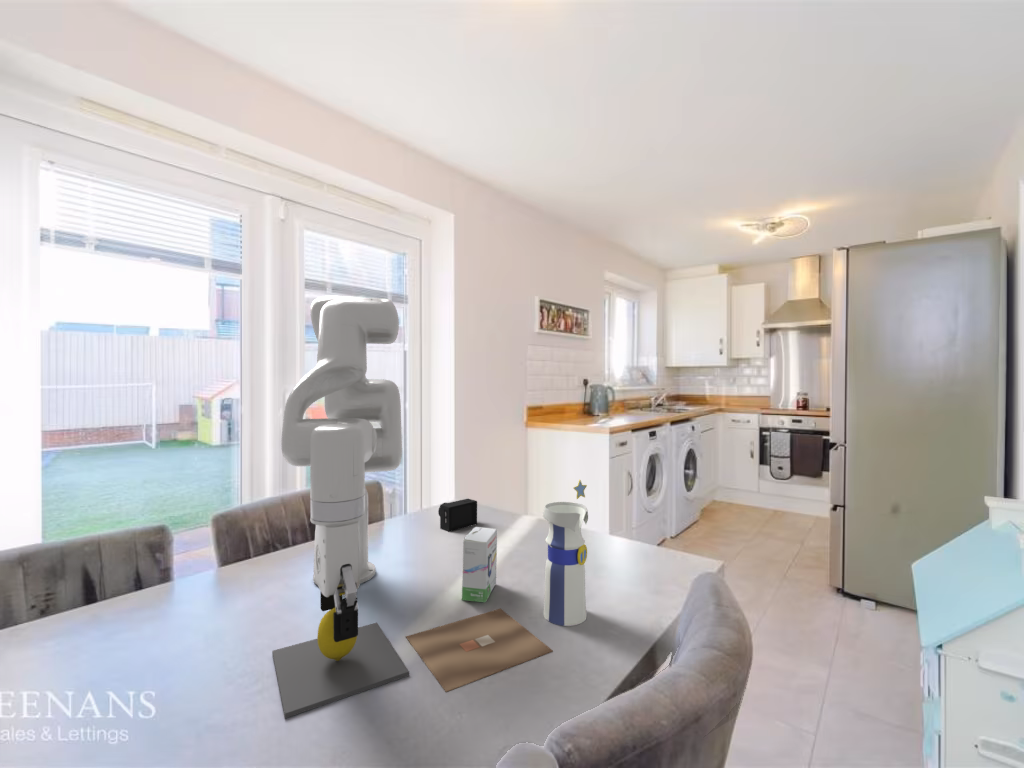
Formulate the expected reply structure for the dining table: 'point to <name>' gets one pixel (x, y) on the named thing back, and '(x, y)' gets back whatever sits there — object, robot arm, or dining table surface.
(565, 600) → the water bottle
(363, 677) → the rubber mat
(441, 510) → the digital camera
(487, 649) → the board
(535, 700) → the dining table surface
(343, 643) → the lemon
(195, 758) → the dining table surface
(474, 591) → the ink box
